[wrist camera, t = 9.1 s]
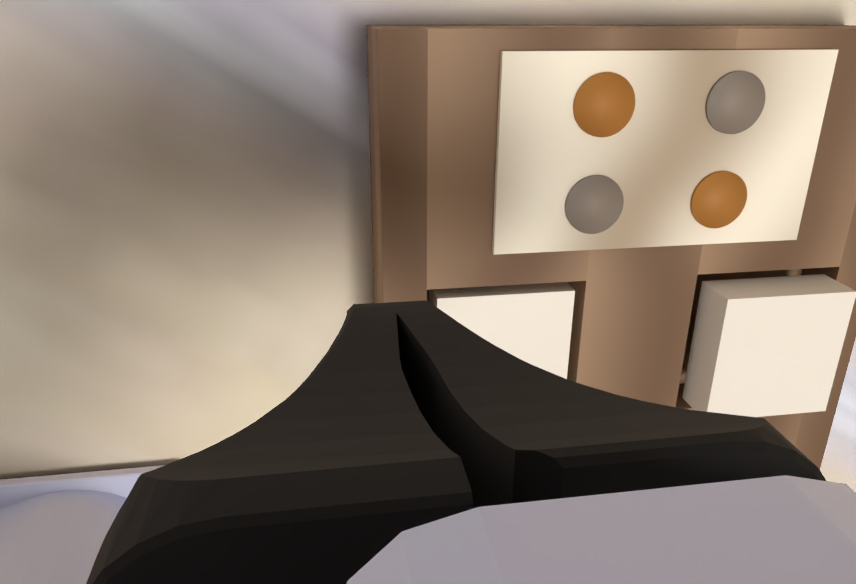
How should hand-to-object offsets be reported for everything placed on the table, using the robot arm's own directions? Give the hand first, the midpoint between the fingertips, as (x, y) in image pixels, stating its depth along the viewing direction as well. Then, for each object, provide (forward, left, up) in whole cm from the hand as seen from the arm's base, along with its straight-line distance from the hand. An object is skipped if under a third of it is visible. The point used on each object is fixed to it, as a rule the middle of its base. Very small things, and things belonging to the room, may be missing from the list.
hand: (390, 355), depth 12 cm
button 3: (+4, -4, -8) cm, 10 cm away
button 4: (+12, -4, -7) cm, 15 cm away
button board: (+8, -7, -10) cm, 15 cm away
